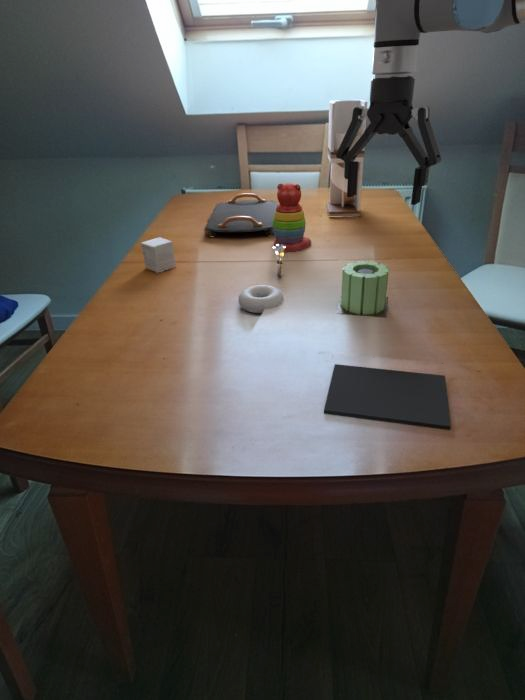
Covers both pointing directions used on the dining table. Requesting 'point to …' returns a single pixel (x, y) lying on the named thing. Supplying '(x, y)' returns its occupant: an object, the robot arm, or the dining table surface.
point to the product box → (158, 254)
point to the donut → (260, 298)
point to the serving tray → (242, 215)
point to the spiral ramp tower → (338, 184)
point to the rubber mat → (389, 396)
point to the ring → (279, 256)
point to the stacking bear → (289, 219)
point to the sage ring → (364, 287)
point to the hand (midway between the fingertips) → (382, 199)
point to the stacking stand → (379, 314)
